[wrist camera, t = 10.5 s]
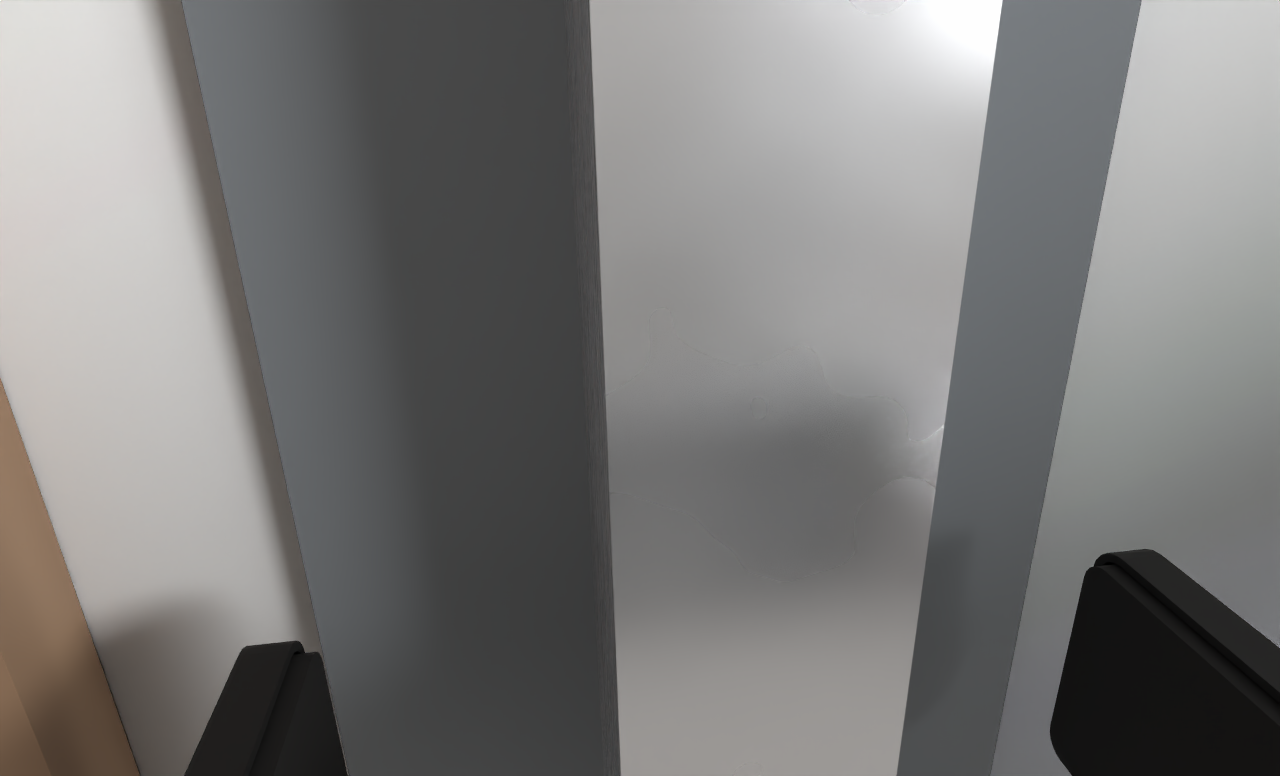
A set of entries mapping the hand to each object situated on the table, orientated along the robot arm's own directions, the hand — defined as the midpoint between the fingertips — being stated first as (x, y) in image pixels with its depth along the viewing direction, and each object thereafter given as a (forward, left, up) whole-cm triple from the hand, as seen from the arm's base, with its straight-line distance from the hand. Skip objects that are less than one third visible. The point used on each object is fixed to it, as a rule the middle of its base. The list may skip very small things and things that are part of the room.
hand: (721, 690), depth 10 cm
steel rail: (0, 0, -2) cm, 2 cm away
